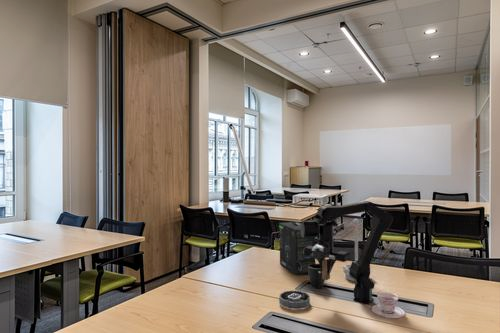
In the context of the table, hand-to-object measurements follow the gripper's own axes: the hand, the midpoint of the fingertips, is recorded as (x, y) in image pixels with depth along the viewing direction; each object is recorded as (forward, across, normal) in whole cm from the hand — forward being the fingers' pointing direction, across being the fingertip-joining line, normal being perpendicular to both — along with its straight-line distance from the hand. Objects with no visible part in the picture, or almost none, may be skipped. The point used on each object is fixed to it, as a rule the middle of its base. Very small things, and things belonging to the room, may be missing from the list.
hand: (326, 274), depth 141 cm
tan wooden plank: (+2, 0, 0) cm, 2 cm away
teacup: (+12, +23, +7) cm, 27 cm away
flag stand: (+12, -2, +37) cm, 39 cm away
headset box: (+12, -34, +32) cm, 48 cm away
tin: (+12, -10, -9) cm, 18 cm away
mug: (+12, -11, +13) cm, 21 cm away
